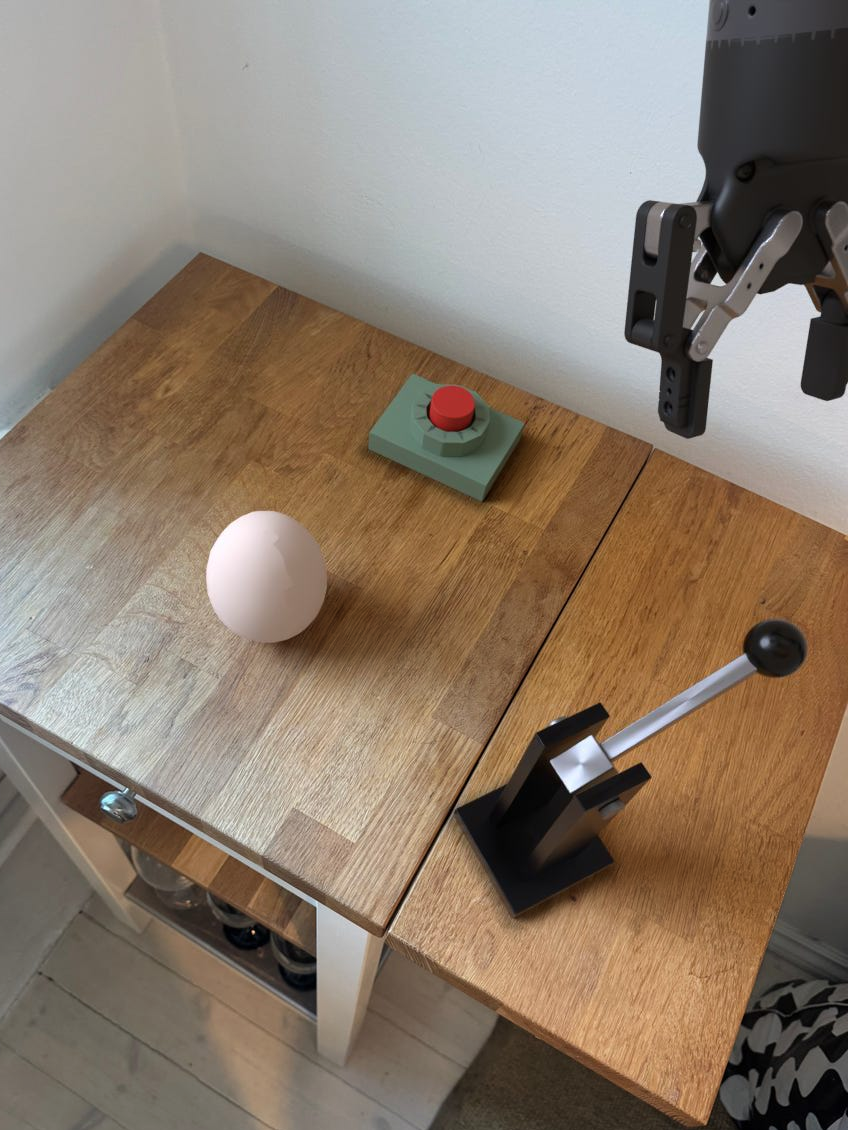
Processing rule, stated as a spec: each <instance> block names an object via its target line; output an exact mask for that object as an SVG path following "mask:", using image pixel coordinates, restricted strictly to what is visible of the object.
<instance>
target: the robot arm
mask: <svg viewBox="0 0 848 1130" xmlns="http://www.w3.org/2000/svg"><path fill="white" fill-rule="evenodd" d="M705 36H706V38H705V50H704V60H703V70H702V71H703V72H702V83H701V96H700V106H699V107H700V109H699V120H698V132H697V142H696V143H697V144H696V146H697V151H698V153H699V155H700V156H701V159H702V160H703V164H704V167H705V177H704V181H703V183H702V187H701V190H700V192H699V194H698V197H697V198H696V201H692V202H683V203H675V202H674V203H673V202H667V201H660V200H653V199H648V200H645V201H644V202H642V203H641V204H640V206H639V207H638V209H637V211H636V215H635V222H634V231H633V242H632V252H631V262H630V274H629V283H628V291H627V292H628V293H627V303H626V312H625V321H624V323H625V324H624V331H623V333H624V339H625V341H626V342H627V343H629V344H631V345H634V346H637V347H640V348H644V349H645V350H649V351H652V352H655V353H658V354H659V355H660V359H661V364H660V376H659V392H658V405H657V413H658V417H659V421H660V422H661V423H663V425H664V427H665V429H666V430H667V431H669V432H671V433H672V434H674V435H677V436H680V437H681V438H684V439H687V440H688V439H689V440H690V439H693V438H696V437H701V436H703V435H704V434H705V432H706V429H707V422H708V421H707V420H708V410H709V402H710V401H709V400H710V393H711V392H710V391H711V382H712V371H713V363H714V359H712V358H709V356H710V355H711V353H712V351H713V350H714V348H715V346H716V345H717V343H718V342H719V340H720V338H721V336H722V335H723V333H724V332H725V330H726V329H727V327H728V325H729V324H730V322H732V320H734V319H736V318H739V317H741V316H742V315H744V314H745V312H747V309H748V308H750V305H751V304H752V302H753V301H754V299H755V297H756V296H757V295H765V294H769V293H774V292H776V291H778V290H779V289H781V288H783V287H785V286H786V285H789V284H791V285H797V286H804V287H805V289H806V292H807V294H808V296H809V298H810V300H811V302H812V304H813V306H814V308H815V311H816V312H818V313H820V315H819V316H815V317H812V318H810V321H809V326H808V333H807V340H806V346H805V353H804V360H803V365H802V371H801V379H800V389H801V391H802V393H803V394H804V395H807V396H809V397H813V398H816V399H818V400H822V401H824V402H830V401H834V400H836V399H840V398H842V397H843V396H844V395H845V394H846V389H847V385H848V0H709V1H708V14H707V26H706V35H705ZM693 253H696V254H695V256H694V258H693ZM692 259H693V260H692ZM717 274H718V276H719V278H720V280H722V282H723V283H724V285H716V284H712V282H713V281H714V279H715V277H716V275H717ZM702 312H703V313H702ZM700 314H702V315H700ZM699 316H700V318H699ZM698 318H699V319H698ZM697 319H698V321H697ZM696 321H697V322H696ZM695 322H696V324H695ZM694 325H695V326H694ZM693 326H694V327H693ZM692 327H693V329H692Z"/></svg>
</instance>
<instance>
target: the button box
mask: <svg viewBox="0 0 848 1130" xmlns="http://www.w3.org/2000/svg"><path fill="white" fill-rule="evenodd" d="M450 385H451V384H448V383H447V384H444V383H439V384H438V383H436V382H433V381H430V380H428V379H426V378H424V377H421V376H419V375H417V374H415V373H412V374H411V375H410V376H409V377H408V379H407V380H406V382H405V383H404V385H403V386H402V387H401V389H400V390H399V391H398V393H397V394H396V396H395V397H394V398H393V399H392V401H391V402H390V404H389V405H388V407H387V408H386V409H385V410H384V412H383V413H382V415H380V418H379V419H378V420H377V422H376V423H375V424H374V425H373V427H372V429H371V430H370V431H369V435H368V436H369V437H368V446H367V447H368V450H369V451H372V452H374V453H375V454H378V455H380V456H382V457H384V458H386V459H389V460H391V461H393V462H395V463H397V464H399V465H402V466H404V467H406V468H408V469H410V470H413V471H414V472H417V473H419V474H421V475H423V476H425V477H428V478H430V479H432V480H434V481H436V482H438V483H440V484H442V485H445V486H447V487H449V488H452V489H454V490H455V491H458V492H459V493H462V494H464V495H466V496H469V497H471V498H473V499H475V500H477V501H479V502H481V503H482V502H483V501H484V500H485V498H486V496H487V495H488V493H489V491H490V490H491V488H492V486H493V485H494V483H496V480H497V478H498V476H499V475H500V474H501V472H502V471H503V468H504V467H505V465H506V464H507V462H508V461H509V459H510V457H511V455H512V454H513V452H514V451H515V449H516V447H517V446H518V444H519V442H520V441H521V438H522V435H523V431H524V428H525V425H526V423H525V422H523V421H521V420H519V419H517V418H515V417H512V416H511V415H507V414H506V413H504V412H501V411H498V410H497V409H494V408H493V407H490V406H489V404H487V403H486V401H485V400H484V399H483V397H482V396H480V394H479V393H477V391H474V390H472V389H470V388H467V387H465V386H463V385H460V384H452V385H453V386H459V387H462V388H464V389H466V390H467V391H469V392H470V393H471V394H472V396H473V398H474V400H475V407H474V412H473V416H472V420H471V423H470V424H469V426H468V427H467V428H465V429H463V430H461V431H458V432H447V431H444V430H441V429H439V428H438V427H436V426H435V425H434V424H433V423H432V421H431V419H430V416H429V412H430V406H431V401H432V396H433V394H434V393H435V391H436V390H438V389H439V388H441V387H444V386H450Z"/></svg>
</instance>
